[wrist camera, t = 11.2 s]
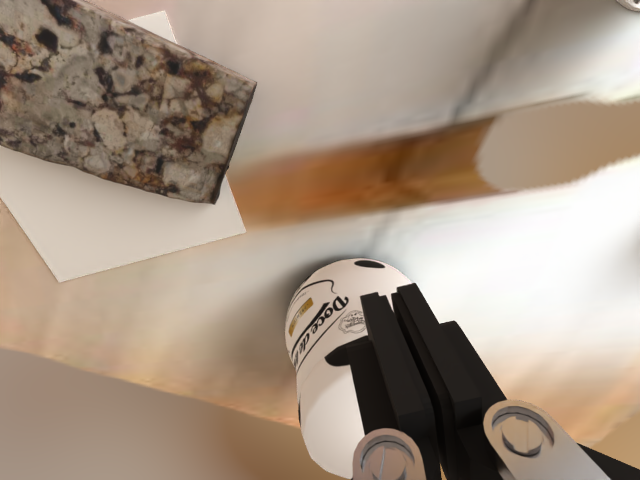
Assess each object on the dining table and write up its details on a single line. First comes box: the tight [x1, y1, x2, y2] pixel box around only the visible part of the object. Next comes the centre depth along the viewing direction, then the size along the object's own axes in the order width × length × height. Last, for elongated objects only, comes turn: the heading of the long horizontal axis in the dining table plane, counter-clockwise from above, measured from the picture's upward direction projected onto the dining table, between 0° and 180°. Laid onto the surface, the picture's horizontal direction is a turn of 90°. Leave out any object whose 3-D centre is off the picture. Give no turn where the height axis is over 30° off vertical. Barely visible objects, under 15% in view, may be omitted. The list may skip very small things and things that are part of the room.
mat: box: [0, 11, 246, 283], centre depth 36 cm, size 22×22×1 cm
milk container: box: [285, 258, 412, 479], centre depth 40 cm, size 17×17×18 cm
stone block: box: [0, 0, 257, 205], centre depth 31 cm, size 13×7×20 cm
